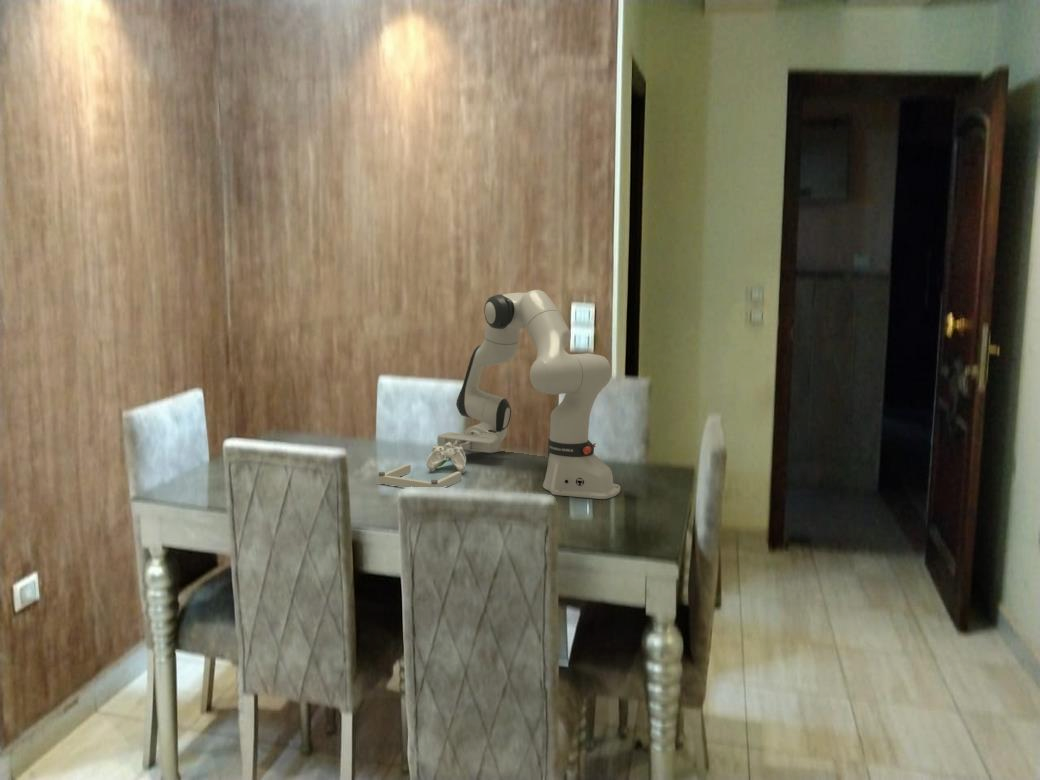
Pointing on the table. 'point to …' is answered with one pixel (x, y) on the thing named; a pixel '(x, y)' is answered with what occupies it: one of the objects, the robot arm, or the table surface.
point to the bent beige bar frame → (394, 479)
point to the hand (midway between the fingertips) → (456, 447)
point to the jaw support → (446, 457)
